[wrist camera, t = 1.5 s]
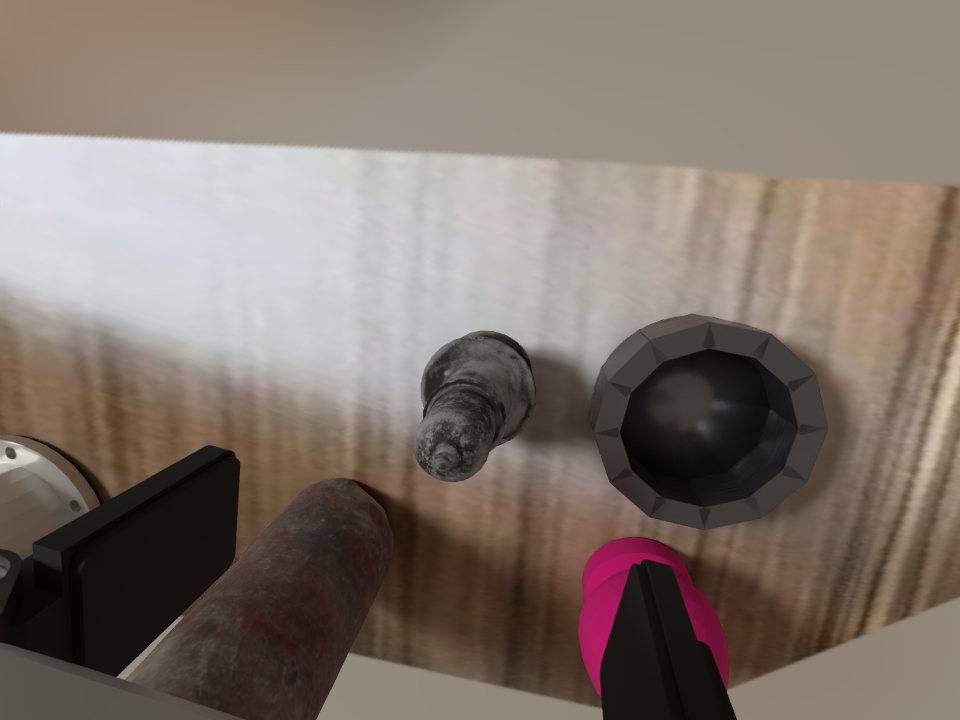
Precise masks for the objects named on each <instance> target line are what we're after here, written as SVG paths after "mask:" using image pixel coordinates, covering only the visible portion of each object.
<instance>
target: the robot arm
mask: <svg viewBox="0 0 960 720" xmlns="http://www.w3.org/2000/svg"><path fill="white" fill-rule="evenodd" d="M239 477H240V461H239V460H238V459H237V458H236V456H235V453H234V452H233V451H231V450H227V449H223V448H219V447H215V446H211V445H208V446H205V447H203V448H201V449H200V450H198V451H196V452H194V453H192V454H191V455H189V456H187V457H185V458H183V459H182V460H180V461H178V462H176V463H175V464H173V465H171V466H169V467H167V468H166V469H164V470H162V471H160V472H158V473H157V474H155V475H153V476H151V477H150V478H148V479H146V480H144V481H142V482H141V483H139V484H137V485H135V486H133V487H132V488H130V489H128V490H126V491H125V492H123V493H121V494H119V495H117V496H116V497H114V498H112V499H110V500H108V501H107V502H105V503H103V504H101V505H100V503H99V500H98V498H97V496H96V494H95V492H94V491H93V489H92V488H91V486H90V485H89V483H88V482H87V480H86V479H85V478H84V476H83V475H82V474H81V473H80V472H79V471H78V470H77V469H76V468H75V467H74V465H72V464H71V463H70V462H69V461H68V460H66V459H65V458H64V457H63V456H62V455H60V454H59V453H57V452H56V451H54V450H52V449H51V448H49V447H47V446H46V445H44V444H41V443H39V442H36V441H34V440H31V439H29V438H24V437H19V436H15V435H0V720H245V719H242V718H239V717H236V716H233V715H230V714H227V713H224V712H221V711H218V710H215V709H212V708H209V707H206V706H203V705H200V704H197V703H193V702H190V701H187V700H184V699H181V698H178V697H175V696H172V695H169V694H166V693H163V692H160V691H156V690H153V689H150V688H147V687H144V686H141V685H138V684H135V683H132V682H129V681H126V680H123V679H120V678H116V677H117V676H118V675H119V674H120V673H121V672H122V671H123V670H124V669H125V668H126V667H127V666H128V665H129V664H130V663H131V662H132V661H133V660H134V659H136V657H138V656H139V655H140V654H141V653H142V652H143V651H144V650H145V649H146V648H147V647H148V646H149V645H150V644H151V643H152V642H153V641H154V640H155V639H156V638H157V637H158V636H159V635H160V634H161V633H162V632H164V630H166V629H167V628H168V626H170V625H171V624H172V623H173V622H174V621H175V620H176V619H177V618H178V617H179V616H180V615H181V614H182V613H183V612H184V611H185V610H186V609H187V608H188V607H189V606H190V605H191V604H193V603H194V602H195V601H196V600H197V599H198V598H199V597H200V596H201V595H202V594H203V593H204V592H205V591H206V590H207V589H208V588H209V587H210V586H211V585H212V584H213V583H214V582H215V581H216V580H217V579H218V578H219V577H220V576H221V575H223V574H224V573H225V572H226V571H227V569H228V568H229V567H230V565H231V564H232V562H233V560H234V557H235V549H236V531H237V513H238V495H239ZM600 687H601V699H602V710H603V720H737V718H736V716H735V713H734V710H733V707H732V705H731V702H730V699H729V697H728V694H727V691H726V688H725V686H724V683H723V680H722V678H721V675H720V672H719V670H718V667H717V664H716V661H715V659H714V656H713V653H712V651H711V649H710V647H709V646H708V645H707V644H706V643H705V642H702V641H698V640H697V637H696V634H695V632H694V629H693V626H692V623H691V620H690V617H689V614H688V611H687V608H686V605H685V603H684V600H683V597H682V594H681V591H680V588H679V585H678V582H677V579H676V576H675V573H674V571H673V568H672V566H670V565H667V564H663V563H660V562H656V561H652V560H648V559H643V560H642V561H641V563H640V564H636V563H633V564H632V565H631V568H630V571H629V574H628V577H627V580H626V584H625V587H624V590H623V593H622V596H621V600H620V603H619V606H618V609H617V612H616V616H615V619H614V622H613V625H612V628H611V632H610V635H609V638H608V641H607V644H606V648H605V651H604V654H603V657H602V661H601V666H600Z"/></svg>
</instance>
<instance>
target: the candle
mask: <svg viewBox="0 0 960 720" xmlns="http://www.w3.org/2000/svg"><path fill="white" fill-rule="evenodd" d="M393 545H394V538H393V532H392V530H391V527H390V525H389V522H388V519H387V516H386V514H385V511H384V509H383V508H382V507H381V506H380V505H379V504H378V503H377V502H376V501H375V500H374V499H373V497H371V496H369V495H368V494H367V493H366V492H365V491H364V490H363V489H362V488H361V487H359V486H358V484H357V483H355V482H353V481H351V480H348V479H339V478H337V479H329V480H325V481H321V482H319V483H316V484H313V485H311V486H309V487H308V488H307V489H305V490H304V491H303V492H301V493H300V494H299V495H298V497H297V498H296V499H295V500H294V501H293V502H292V503H291V504H290V505H289V506H288V507H287V508H286V509H285V510H284V511H283V512H282V513H281V514H280V515H279V517H278V518H276V520H275V521H274V522H273V523H272V524H271V525H270V526H269V527H268V528H267V529H266V530H265V531H264V532H263V533H262V535H261V536H260V537H259V538H258V539H257V540H256V541H255V542H254V543H253V544H252V545H251V546H250V547H249V548H248V550H247V551H246V552H245V553H244V554H243V555H242V556H241V557H240V558H239V559H238V560H237V561H236V562H235V563H234V564H233V566H232V567H231V568H230V569H229V570H228V571H227V572H226V573H225V574H224V575H223V577H222V578H221V579H220V580H219V581H218V582H217V583H216V584H215V585H214V586H213V587H212V588H211V589H210V590H209V591H208V592H207V594H206V595H205V596H204V597H203V598H202V599H201V600H200V601H199V602H198V603H197V604H196V605H195V606H194V607H193V609H192V610H191V611H190V612H189V613H188V614H187V615H186V616H185V617H184V618H183V619H182V620H181V621H180V622H179V623H178V624H177V625H176V626H175V627H174V628H173V629H172V630H171V631H170V632H169V633H168V634H167V635H166V636H165V637H164V639H163V640H162V641H161V642H160V643H159V644H158V645H157V646H156V647H155V649H154V650H153V651H152V652H151V653H150V654H149V655H148V656H147V657H146V658H145V659H144V661H143V662H142V663H141V664H140V665H139V666H138V667H137V668H136V669H135V670H134V671H133V672H132V673H131V674H130V675H129V676H128V677H127V678H126V679H125V680H126V681H129V682H132V683H135V684H138V685H141V686H144V687H147V688H150V689H153V690H156V691H160V692H163V693H166V694H169V695H172V696H175V697H178V698H181V699H184V700H187V701H190V702H193V703H197V704H200V705H203V706H206V707H209V708H212V709H215V710H218V711H221V712H224V713H227V714H230V715H233V716H236V717H239V718H242V719H245V720H316V719H317V717H318V715H319V713H320V711H321V709H322V707H323V704H324V702H325V700H326V698H327V696H328V694H329V692H330V690H331V689H332V686H333V684H334V682H335V680H336V678H337V676H338V674H339V671H340V669H341V667H342V665H343V663H344V661H345V659H346V657H347V655H348V653H349V650H350V648H351V646H352V644H353V642H354V640H355V638H356V636H357V634H358V632H359V630H360V628H361V626H362V624H363V622H364V620H365V618H366V616H367V613H368V611H369V609H370V607H371V605H372V603H373V601H374V599H375V597H376V595H377V592H378V590H379V588H380V586H381V584H382V581H383V579H384V577H385V575H386V573H387V570H388V568H389V566H390V563H391V560H392V557H393Z"/></svg>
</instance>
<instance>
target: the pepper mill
mask: <svg viewBox="0 0 960 720" xmlns="http://www.w3.org/2000/svg"><path fill="white" fill-rule="evenodd" d="M643 559H648V560H652V561H656V562H660V563H663V564H667V565H670V566H672V568H673V571H674V573H675V576H676V579H677V582H678V585H679V588H680V591H681V594H682V597H683V600H684V603H685V605H686V608H687V611H688V614H689V617H690V620H691V623H692V626H693V629H694V632H695V634H696V637H697V640H698V641H702V642H705V643H706V644H707V645H708V646H709V647H710V649H711V651H712V653H713V656H714V659H715V661H716V664H717V667H718V670H719V672H720V675H721V678H722V680H723V683H724V686H725V688H726V691H727V686H728V676H729V661H728V649H727V643H726V639H725V635H724V632H723V629H722V627H721V624H720V621H719V618H718V616H717V614H716V612H715V610H714V608H713V607H712V605H711V604H710V602H709V601H708V599H707V598H706V597H705V596H704V595H703V594H702V593H701V592H700V591H699V590H698V589H696V588H695V587H694V586H693V583H692V581H691V578H690V576H689V574H688V571H687V569H686V567H685V565H684V563H683V562H682V560H681V559H680V558H679V557H678V556H677V555H676V554H675V553H674V552H673V551H672V550H671V549H669V548H668V547H666V546H665V545H663V544H661V543H659V542H656V541H653V540H649V539H646V538H633V537H628V538H622V539H618V540H614V541H612V542H610V543H608V544H606V545H604V546H602V547H601V548H599V549H598V550H597V551H596V552H595V553H594V554H593V555H592V556H591V557H590V559H589V560H588V562H587V564H586V566H585V569H584V572H583V579H582V584H583V594H584V605H583V608H582V610H581V613H580V618H579V624H578V635H579V642H580V647H581V653H582V658H583V661H584V664H585V667H586V670H587V672H588V674H589V677H590V679H591V682H592V684H593V686H594V688H595V690H596V691H597V693H598V695H599V696H600V698H601V687H600V666H601V661H602V657H603V654H604V651H605V648H606V644H607V641H608V638H609V635H610V632H611V628H612V625H613V622H614V619H615V616H616V612H617V609H618V606H619V603H620V600H621V596H622V593H623V590H624V587H625V584H626V580H627V577H628V574H629V571H630V568H631V565H632V564H633V563H636V564H640V563H641V561H642V560H643ZM601 700H602V699H601Z"/></svg>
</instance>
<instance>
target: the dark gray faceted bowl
mask: <svg viewBox="0 0 960 720" xmlns="http://www.w3.org/2000/svg"><path fill="white" fill-rule="evenodd" d="M589 416H590V420H591V424H592V428H593V432H594V435H595V439H596V442H597V445H598V448H599V451H600V454H601V457H602V460H603V464H604V467H605V470H606V473H607V476H608V479H609V482H610V483H611V484H612V485H613V486H614V487H615V488H617V489H618V490H619V491H620V492H621V493H622V494H624V495H625V496H626V497H627V498H628V499H629V500H630V501H632V502H633V503H634V504H635V505H636V506H637V507H638V508H640V509H641V510H642V511H643V512H644V513H645V514H646V515H648V516H649V517H651V518H655V519H659V520H664V521H668V522H672V523H676V524H680V525H684V526H689V527H693V528H697V529H701V530H707V529H712V528H717V527H721V526H726V525H731V524H735V523H740V522H745V521H749V520H754V519H758V518H761V517H763V516H764V515H766V514H767V513H768V512H769V511H771V510H772V509H773V508H775V507H776V506H777V505H778V504H780V503H781V502H782V501H783V500H785V499H786V498H787V497H788V496H790V495H791V494H792V493H793V492H795V491H796V490H797V489H798V488H800V487H801V486H802V485H803V484H805V483H806V482H807V481H808V478H809V476H810V473H811V471H812V468H813V466H814V463H815V461H816V458H817V456H818V453H819V451H820V448H821V445H822V443H823V440H824V438H825V435H826V433H827V430H828V429H827V428H828V426H827V422H826V417H825V413H824V409H823V404H822V400H821V396H820V391H819V387H818V382H817V378H816V374H815V373H814V372H813V371H812V370H811V369H810V368H808V367H807V366H806V365H805V364H804V363H803V362H802V361H801V360H800V359H799V358H797V357H796V356H795V355H794V354H793V353H792V352H791V351H790V350H789V349H788V348H786V347H785V346H784V345H783V344H782V343H781V342H780V341H779V340H778V339H777V338H775V337H774V336H773V335H772V334H770V333H767V332H765V331H762V330H759V329H757V328H754V327H751V326H749V325H746V324H741V323H736V322H731V321H726V320H722V319H719V318H715V317H708V316H701V315H696V314H688V315H685V316H680V317H673V318H669V319H665V320H661V321H658V322H656V323H653V324H650V325H648V326H646V327H644V328H642V329H639V331H638V330H637V331H636V332H635V333H634V334H633V335H631V336H630V337H628V338H627V339H626V340H625V341H623V342H622V343H621V344H620V345H619V346H618V347H617V348H616V349H615V350H614V351H613V353H612V354H611V355H610V356H609V358H608V359H607V361H606V362H605V364H604V365H603V366H602V368H601V369H600V373H599V375H598V377H597V380H596V383H595V386H594V390H593V396H592V404H591V408H590V412H589Z"/></svg>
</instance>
